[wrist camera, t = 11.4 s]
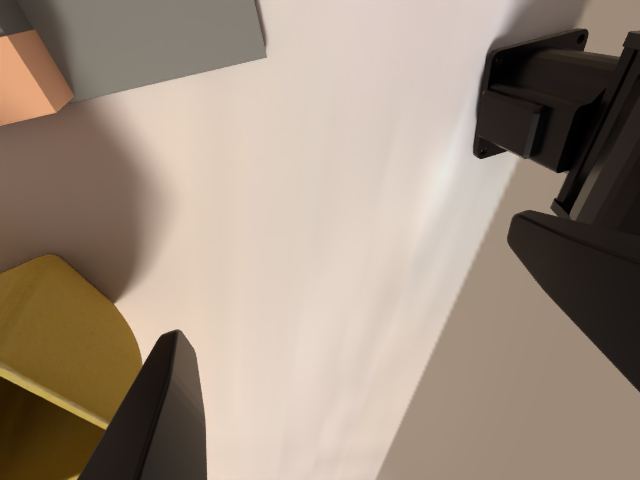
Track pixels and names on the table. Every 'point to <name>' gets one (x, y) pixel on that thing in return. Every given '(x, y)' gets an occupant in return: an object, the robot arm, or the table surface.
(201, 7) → the slate board
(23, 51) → the block
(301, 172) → the table surface
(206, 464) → the robot arm
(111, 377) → the flower pot
